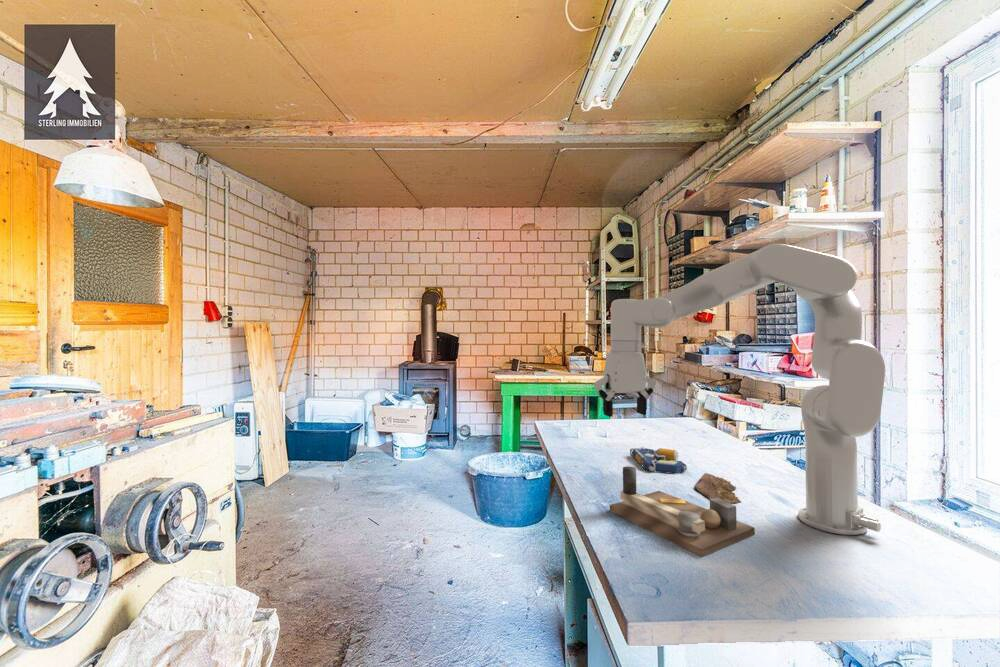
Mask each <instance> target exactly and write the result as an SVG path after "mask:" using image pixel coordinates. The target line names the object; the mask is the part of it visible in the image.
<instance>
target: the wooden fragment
mask: <svg viewBox="0 0 1000 667" xmlns="http://www.w3.org/2000/svg"><path fill="white" fill-rule="evenodd" d="M693 486H694V488H693V489H695V490H696V491H698V492H700V493H701V494H702V495H704V496H706V498H708V499H709V500H710V499H715V498H719V499H721V500H724V501H726V502H728V503H730V504H733V505H735V504H739V503H742V500H741V499H739V497H738V496H736V493H735V492H733V491H735V490H736V489H737V487H736V486H735V485H733V484H732V483H731V481H730V480H729V481H728V480H726V479H725V478H722V477H719V476H715V475H713V474H711V473H707V472H704V473H703V474H702V476H701V477H700V478H699V479H698V481H697V482H696V484H695V485H693Z"/></svg>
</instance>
